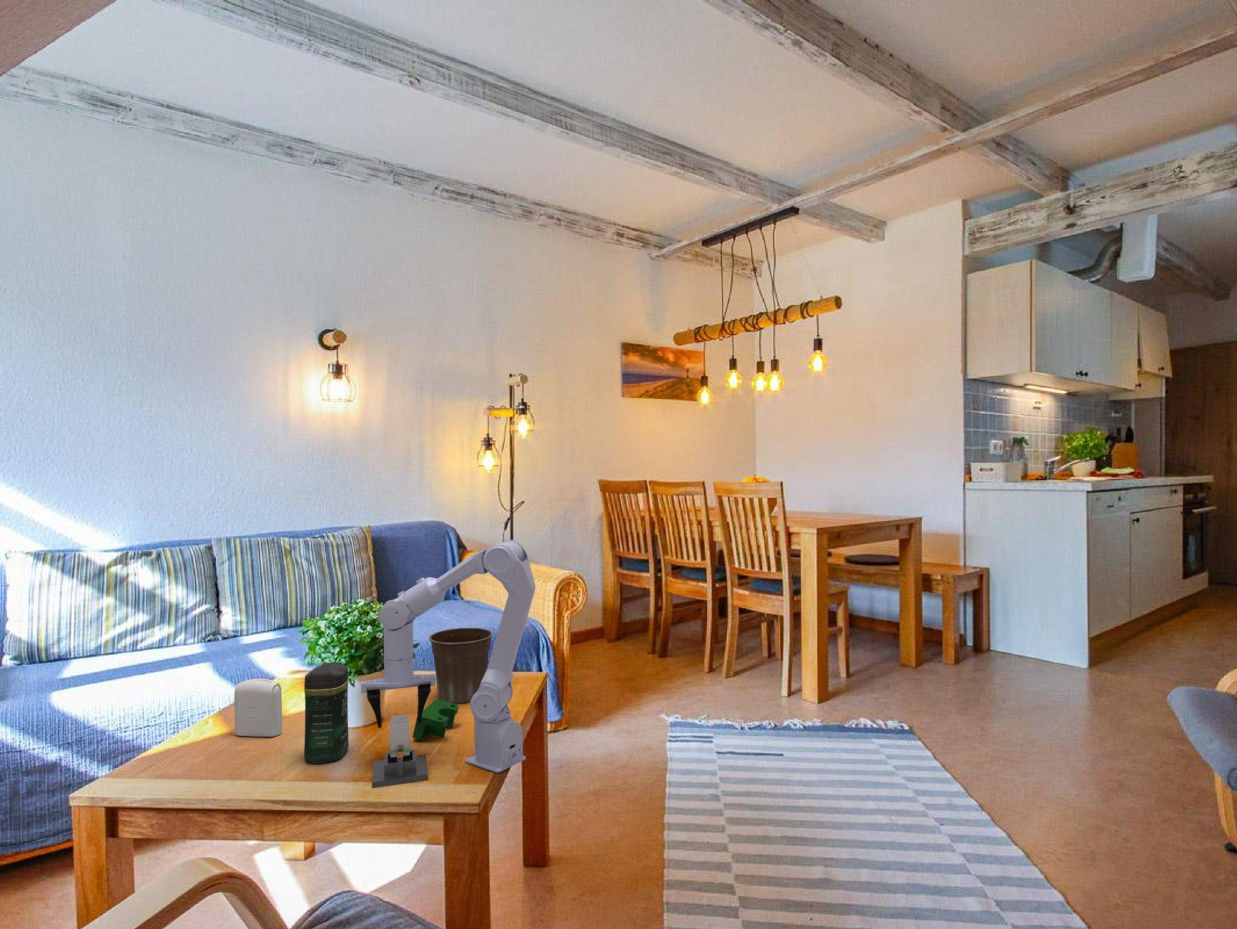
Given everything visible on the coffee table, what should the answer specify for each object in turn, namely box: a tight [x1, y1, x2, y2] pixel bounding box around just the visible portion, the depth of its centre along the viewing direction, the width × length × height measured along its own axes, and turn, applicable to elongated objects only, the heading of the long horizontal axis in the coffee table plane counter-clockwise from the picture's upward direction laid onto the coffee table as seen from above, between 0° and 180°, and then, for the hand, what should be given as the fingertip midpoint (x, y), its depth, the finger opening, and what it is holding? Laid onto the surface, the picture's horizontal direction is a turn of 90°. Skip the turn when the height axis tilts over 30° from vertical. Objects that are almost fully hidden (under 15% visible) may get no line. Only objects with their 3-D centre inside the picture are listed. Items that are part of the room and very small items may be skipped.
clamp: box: [412, 698, 460, 742], centre depth 155 cm, size 12×6×9 cm, turn 168°
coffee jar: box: [303, 661, 350, 764], centre depth 144 cm, size 10×8×19 cm
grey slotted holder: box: [371, 749, 429, 789], centre depth 135 cm, size 10×10×5 cm
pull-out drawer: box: [389, 713, 411, 757], centre depth 135 cm, size 4×5×6 cm
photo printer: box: [233, 678, 283, 738], centre depth 156 cm, size 10×4×12 cm, turn 81°
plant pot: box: [428, 627, 494, 705], centre depth 180 cm, size 16×16×16 cm
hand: (399, 723), depth 142 cm, fingers open, 7 cm apart
